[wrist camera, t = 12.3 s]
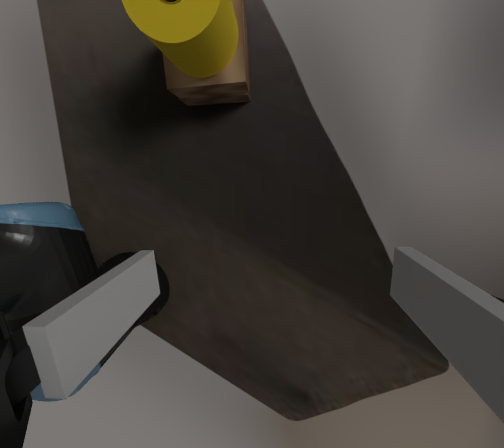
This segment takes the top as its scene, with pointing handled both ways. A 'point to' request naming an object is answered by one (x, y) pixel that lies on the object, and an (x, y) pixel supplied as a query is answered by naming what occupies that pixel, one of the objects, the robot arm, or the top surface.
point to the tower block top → (222, 82)
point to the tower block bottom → (221, 97)
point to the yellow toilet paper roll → (189, 32)
